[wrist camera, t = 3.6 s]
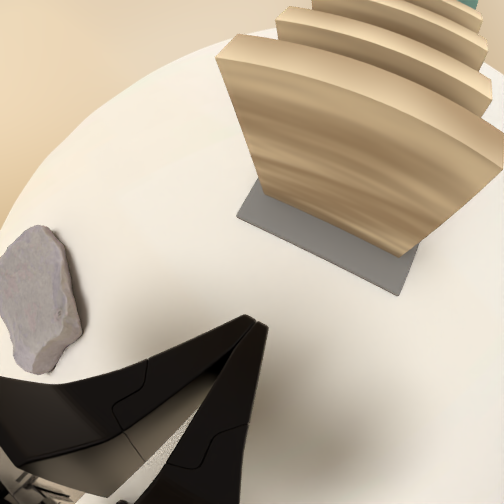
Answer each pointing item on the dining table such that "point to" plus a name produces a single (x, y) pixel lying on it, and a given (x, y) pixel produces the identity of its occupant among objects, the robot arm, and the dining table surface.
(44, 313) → the stone block
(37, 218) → the dining table surface
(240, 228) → the dining table surface
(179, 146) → the dining table surface
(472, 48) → the domino
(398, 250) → the domino
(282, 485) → the dining table surface
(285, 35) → the domino
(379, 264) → the mat
